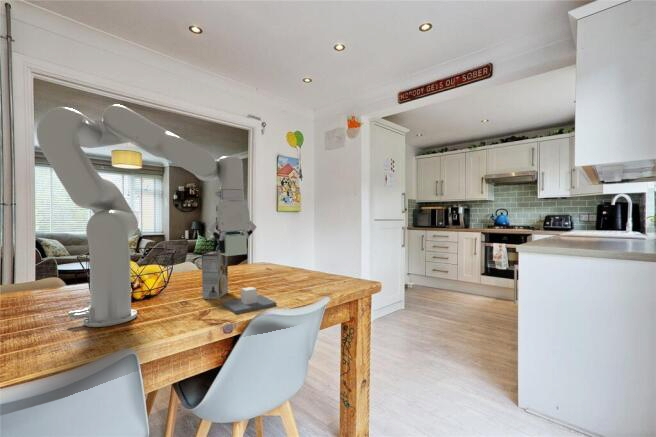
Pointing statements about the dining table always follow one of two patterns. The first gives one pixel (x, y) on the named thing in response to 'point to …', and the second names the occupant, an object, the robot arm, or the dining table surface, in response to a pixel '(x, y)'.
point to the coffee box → (214, 275)
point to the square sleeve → (235, 245)
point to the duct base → (248, 307)
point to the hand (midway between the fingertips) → (233, 251)
